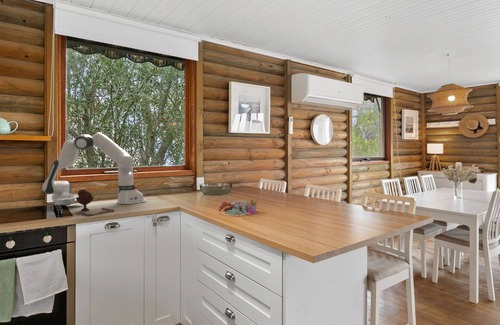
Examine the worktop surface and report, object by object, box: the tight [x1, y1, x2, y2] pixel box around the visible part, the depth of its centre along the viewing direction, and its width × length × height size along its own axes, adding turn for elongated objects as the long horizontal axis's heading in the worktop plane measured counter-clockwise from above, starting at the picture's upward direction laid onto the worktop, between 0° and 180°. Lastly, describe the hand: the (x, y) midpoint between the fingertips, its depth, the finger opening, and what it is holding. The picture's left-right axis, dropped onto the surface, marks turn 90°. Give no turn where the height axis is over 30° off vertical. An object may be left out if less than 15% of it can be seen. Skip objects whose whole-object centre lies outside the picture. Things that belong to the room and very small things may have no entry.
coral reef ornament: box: [218, 199, 258, 215], centre depth 207 cm, size 25×24×9 cm
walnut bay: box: [76, 207, 115, 217], centre depth 207 cm, size 18×14×1 cm
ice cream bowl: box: [76, 189, 94, 212], centre depth 214 cm, size 11×11×15 cm
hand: (76, 201), depth 220 cm, fingers closed
